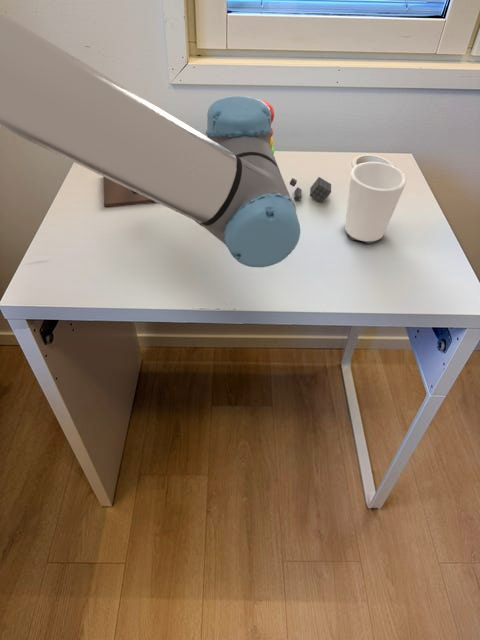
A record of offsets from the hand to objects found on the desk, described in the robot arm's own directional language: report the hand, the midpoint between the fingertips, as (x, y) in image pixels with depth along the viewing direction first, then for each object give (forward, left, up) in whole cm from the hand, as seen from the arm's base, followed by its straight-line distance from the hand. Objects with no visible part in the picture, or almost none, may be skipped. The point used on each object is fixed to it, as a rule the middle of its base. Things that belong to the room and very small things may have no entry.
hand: (112, 132), depth 81 cm
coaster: (+1, +11, -18) cm, 21 cm away
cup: (+45, -13, -18) cm, 50 cm away
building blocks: (+38, +1, -18) cm, 42 cm away
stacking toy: (+28, +6, -18) cm, 34 cm away
